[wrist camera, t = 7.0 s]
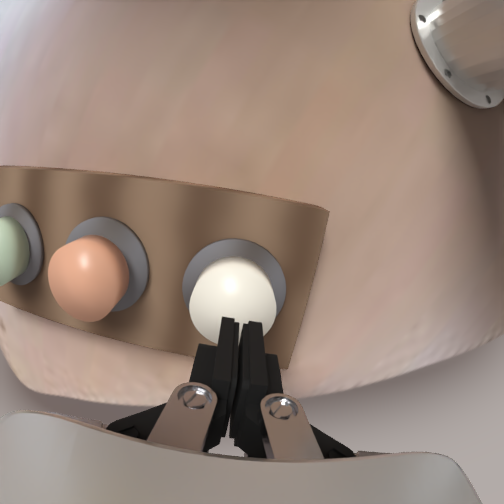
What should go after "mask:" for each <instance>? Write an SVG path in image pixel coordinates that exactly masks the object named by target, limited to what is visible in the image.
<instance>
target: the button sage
mask: <svg viewBox="0 0 504 504" xmlns="http://www.w3.org/2000/svg"><path fill="white" fill-rule="evenodd" d="M29 256H30V252H29V243H28V239H27V236H26V234H25V231H24V229H23V228H22V226H21V225H20V223H19V222H18V221H17V220H16V219H14V218H12V217H10V216H5V217H1V218H0V286H2V285H4V284H6V283H7V282H9V281H11V280H13V279H14V278H16V277H18V276H19V275H21V274H22V273H24V271H25V270H26V268H27V266H28V263H29Z"/></svg>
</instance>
